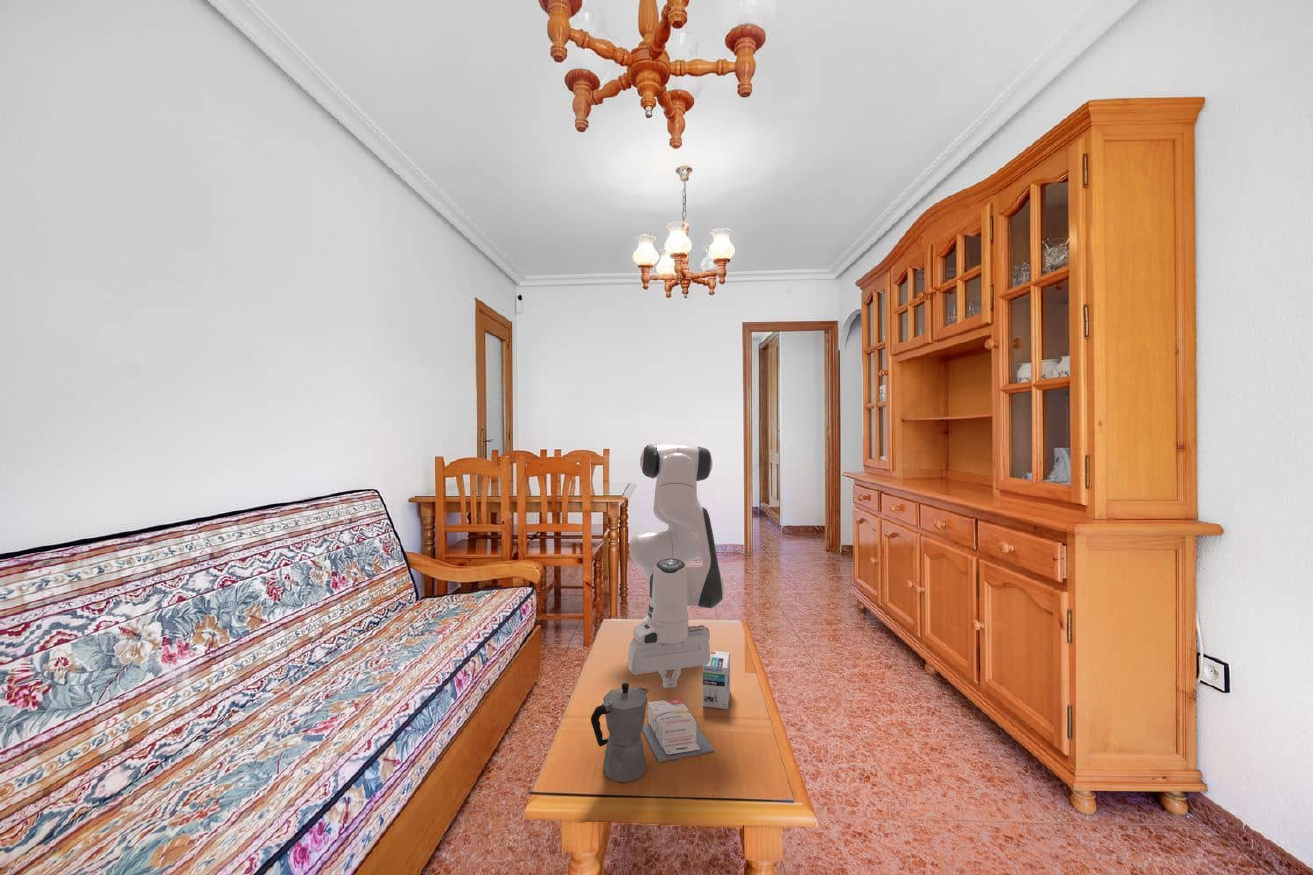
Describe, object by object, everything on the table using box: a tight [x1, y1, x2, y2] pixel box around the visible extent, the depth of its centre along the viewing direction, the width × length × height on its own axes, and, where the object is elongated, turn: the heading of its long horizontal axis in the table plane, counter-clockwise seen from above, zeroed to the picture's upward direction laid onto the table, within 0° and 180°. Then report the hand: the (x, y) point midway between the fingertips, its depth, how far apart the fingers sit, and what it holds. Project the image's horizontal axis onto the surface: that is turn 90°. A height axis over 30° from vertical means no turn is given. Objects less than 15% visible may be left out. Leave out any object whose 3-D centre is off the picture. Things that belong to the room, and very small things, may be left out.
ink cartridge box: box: [647, 697, 700, 754], centre depth 120 cm, size 9×5×15 cm
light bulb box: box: [702, 650, 731, 710], centre depth 139 cm, size 11×7×11 cm, turn 168°
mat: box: [641, 723, 715, 763], centre depth 119 cm, size 14×13×1 cm
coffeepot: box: [590, 682, 650, 784], centre depth 108 cm, size 15×9×18 cm, turn 134°
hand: (669, 686), depth 124 cm, fingers closed
